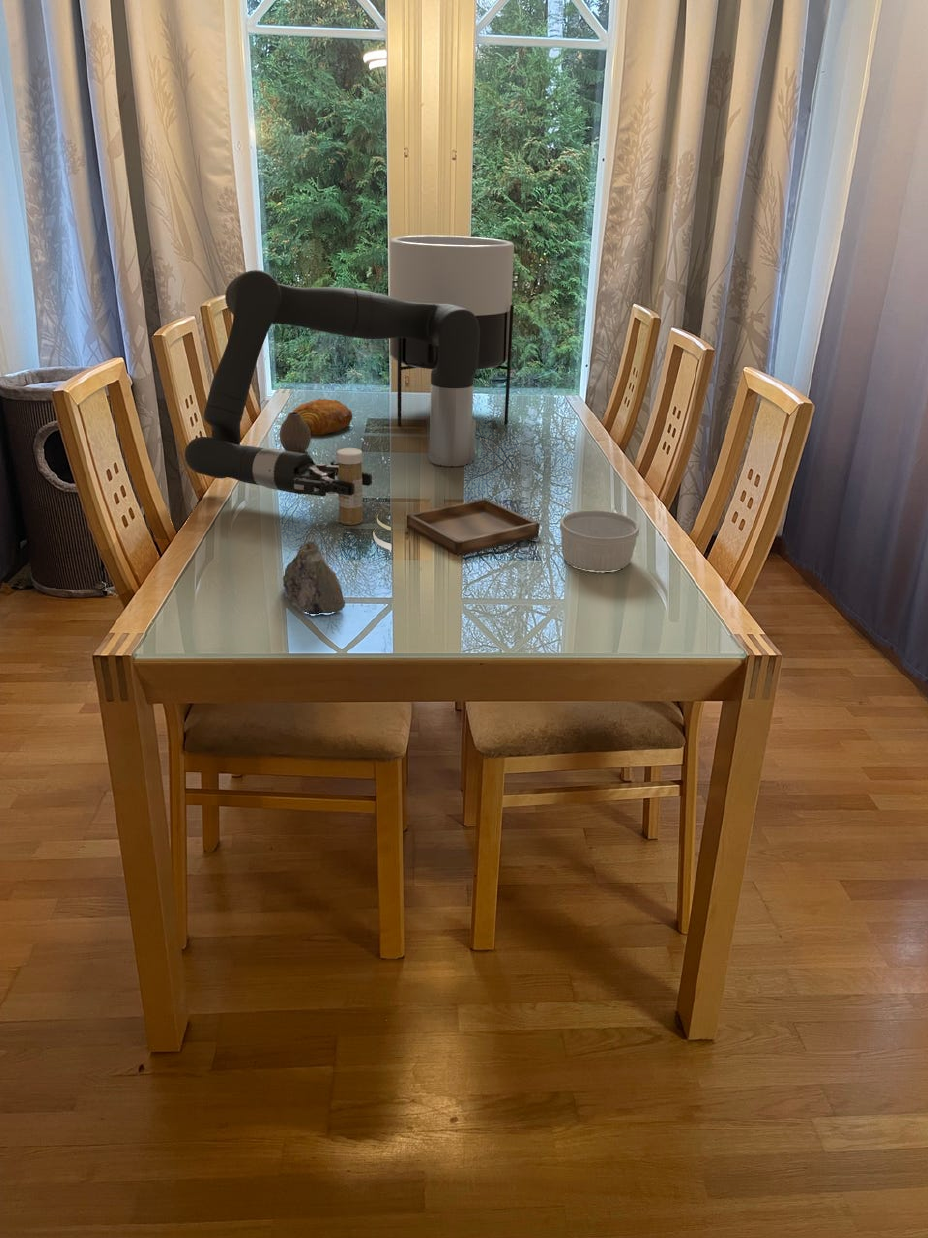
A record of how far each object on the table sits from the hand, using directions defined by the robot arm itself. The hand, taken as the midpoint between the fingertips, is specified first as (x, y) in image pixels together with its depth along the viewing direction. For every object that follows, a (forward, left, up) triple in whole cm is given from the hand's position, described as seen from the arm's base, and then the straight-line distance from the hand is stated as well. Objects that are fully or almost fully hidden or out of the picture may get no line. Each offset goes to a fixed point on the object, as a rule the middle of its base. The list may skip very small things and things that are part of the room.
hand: (362, 484), depth 166 cm
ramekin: (-25, +36, -8) cm, 44 cm away
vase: (-11, -48, -8) cm, 50 cm away
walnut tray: (-15, +14, -8) cm, 22 cm away
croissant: (-26, -64, -8) cm, 69 cm away
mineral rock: (+23, +24, -8) cm, 34 cm away
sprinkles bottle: (+1, -2, -8) cm, 8 cm away
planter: (-59, -56, -8) cm, 82 cm away
